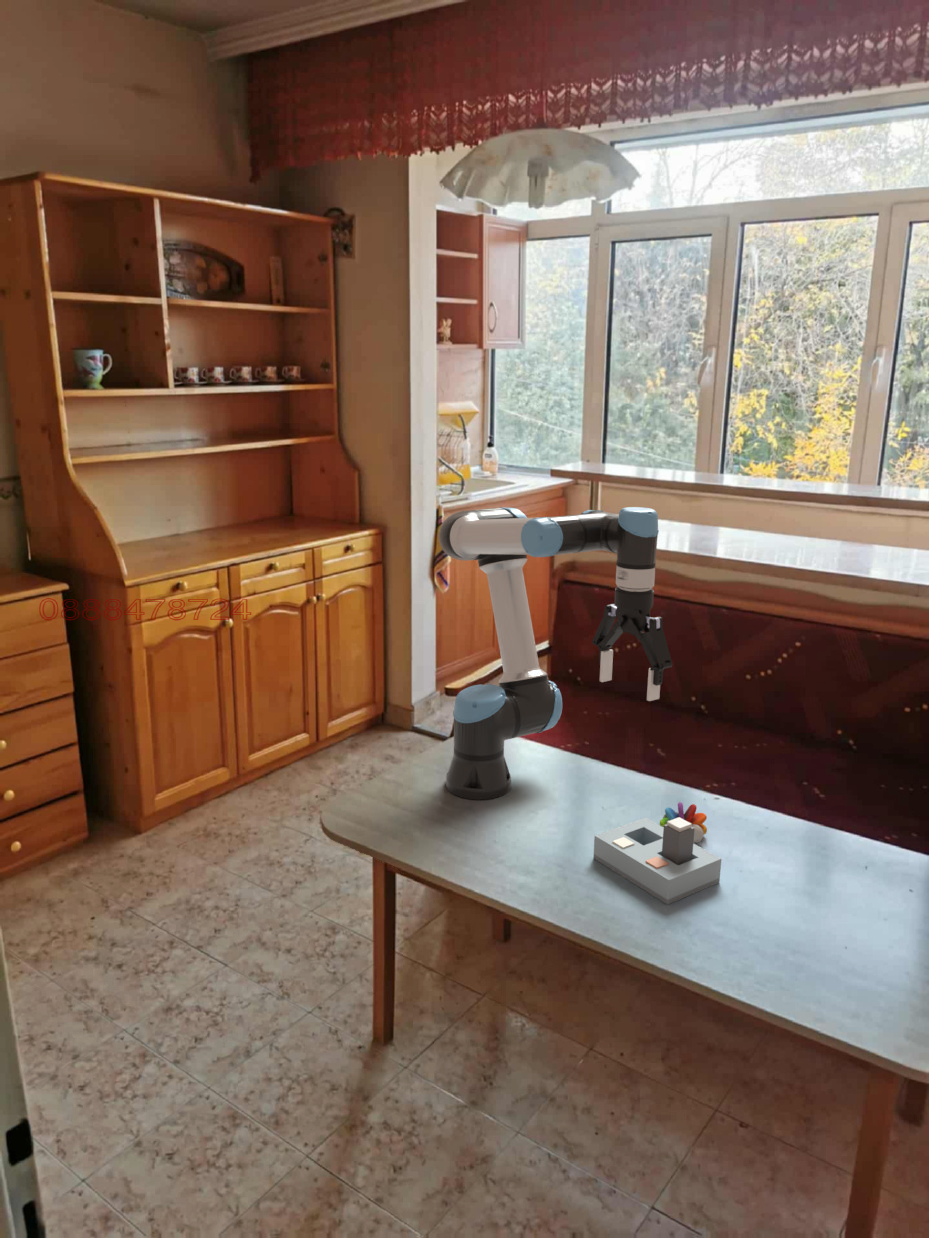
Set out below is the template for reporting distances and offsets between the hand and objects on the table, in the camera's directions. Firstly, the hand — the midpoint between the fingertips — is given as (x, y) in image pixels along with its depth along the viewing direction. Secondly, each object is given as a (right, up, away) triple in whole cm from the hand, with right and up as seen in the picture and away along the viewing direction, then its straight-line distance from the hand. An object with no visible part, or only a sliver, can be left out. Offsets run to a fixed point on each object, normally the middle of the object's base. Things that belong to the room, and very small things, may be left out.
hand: (628, 690), depth 188 cm
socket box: (+4, -35, -7) cm, 35 cm away
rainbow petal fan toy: (+13, -31, +8) cm, 35 cm away
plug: (+7, -34, -10) cm, 37 cm away
